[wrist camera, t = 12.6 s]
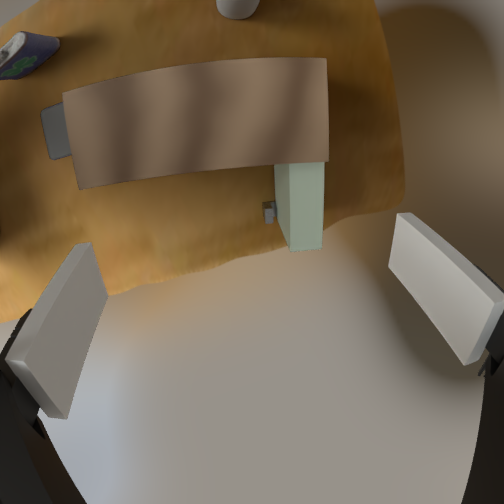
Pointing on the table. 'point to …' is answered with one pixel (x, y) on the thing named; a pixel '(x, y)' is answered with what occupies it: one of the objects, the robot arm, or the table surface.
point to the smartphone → (56, 131)
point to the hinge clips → (269, 211)
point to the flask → (25, 54)
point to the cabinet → (199, 119)
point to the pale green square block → (300, 204)
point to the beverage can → (237, 8)
